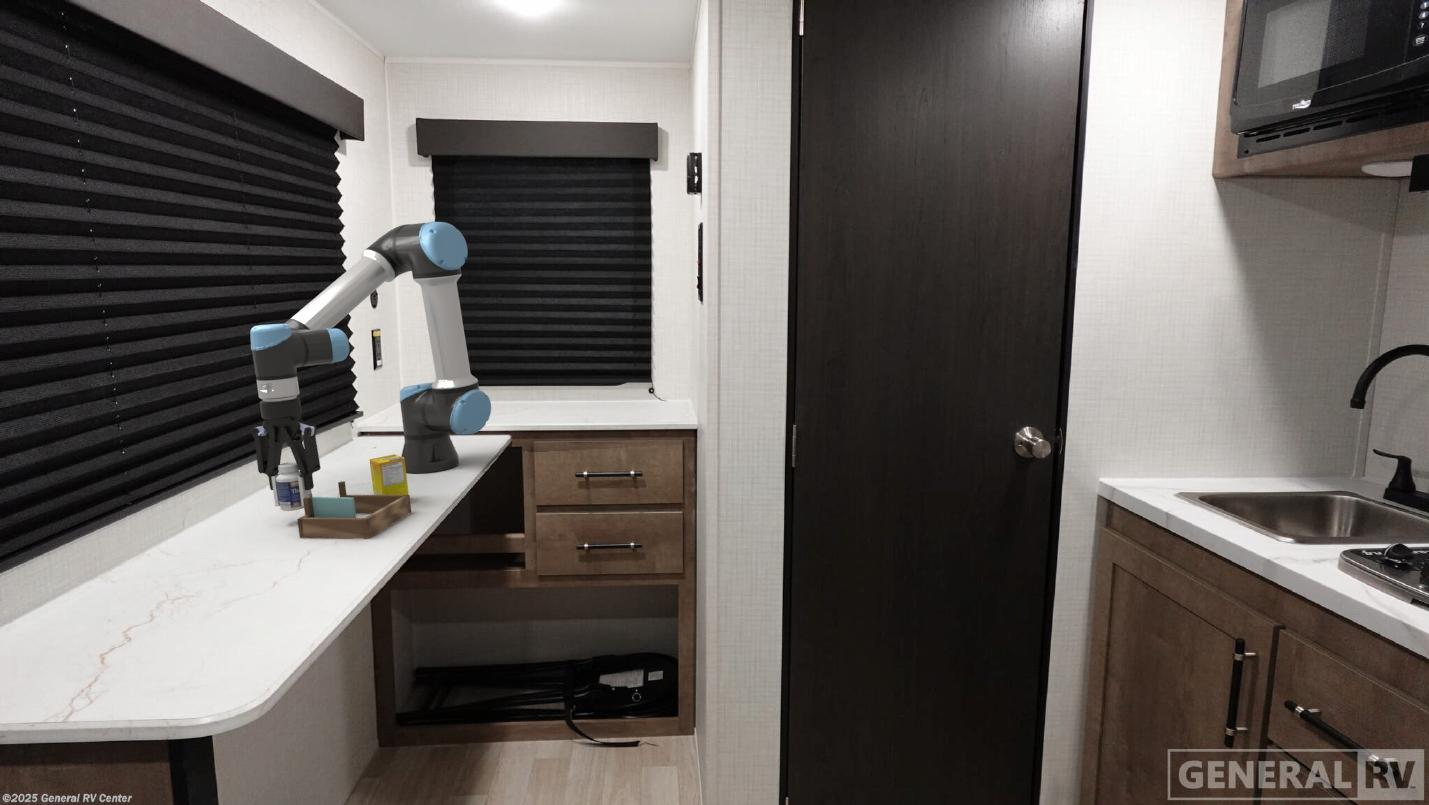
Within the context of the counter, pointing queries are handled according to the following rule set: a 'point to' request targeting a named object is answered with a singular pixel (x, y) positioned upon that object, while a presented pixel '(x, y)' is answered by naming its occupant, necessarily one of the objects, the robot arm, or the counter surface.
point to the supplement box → (389, 475)
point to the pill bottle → (289, 487)
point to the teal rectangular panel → (333, 507)
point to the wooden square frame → (382, 516)
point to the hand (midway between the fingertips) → (294, 504)
